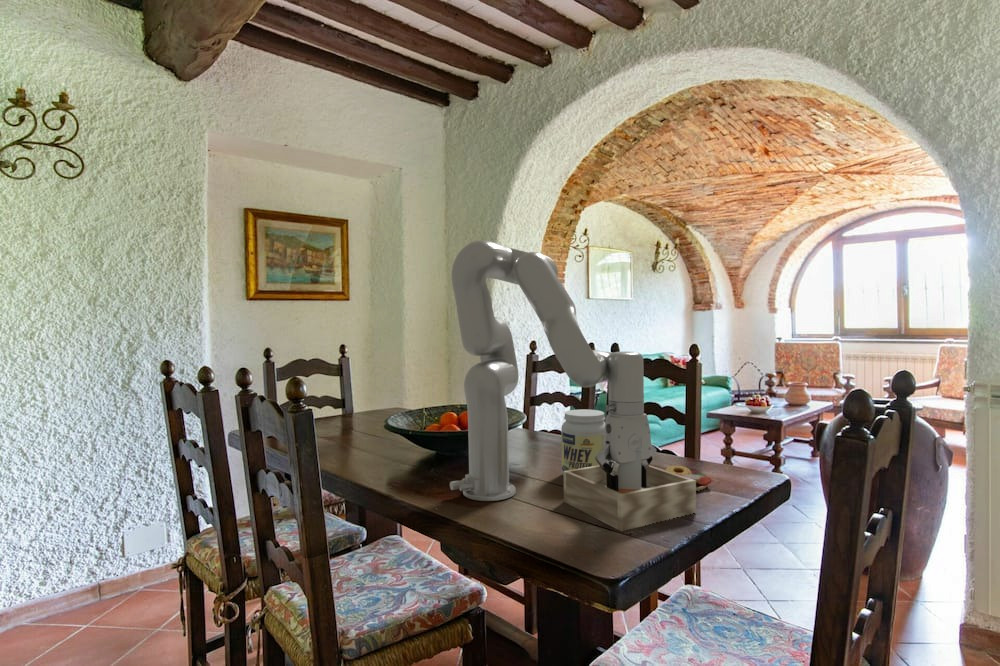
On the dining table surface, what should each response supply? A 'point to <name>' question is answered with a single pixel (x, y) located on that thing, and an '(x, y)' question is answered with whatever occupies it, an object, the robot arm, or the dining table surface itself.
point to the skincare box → (630, 475)
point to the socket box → (630, 497)
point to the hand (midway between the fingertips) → (626, 488)
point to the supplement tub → (581, 438)
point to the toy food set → (691, 476)
